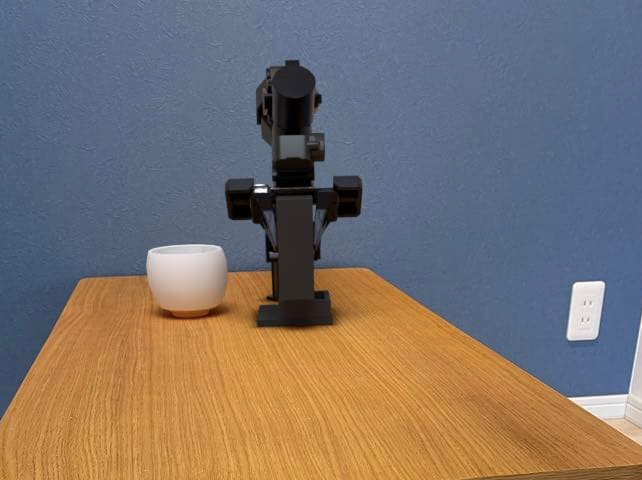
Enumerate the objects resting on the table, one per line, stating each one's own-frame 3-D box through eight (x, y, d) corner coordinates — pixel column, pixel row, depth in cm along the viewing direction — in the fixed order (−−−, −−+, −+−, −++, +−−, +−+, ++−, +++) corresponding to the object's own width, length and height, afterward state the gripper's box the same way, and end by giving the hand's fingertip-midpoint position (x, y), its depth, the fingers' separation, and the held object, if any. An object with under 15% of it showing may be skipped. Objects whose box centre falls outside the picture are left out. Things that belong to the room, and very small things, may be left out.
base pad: (259, 311, 134) (258, 288, 133) (329, 309, 134) (329, 286, 133) (257, 326, 124) (256, 302, 123) (332, 324, 125) (332, 300, 123)
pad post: (280, 293, 122) (276, 195, 116) (313, 292, 122) (311, 195, 116) (279, 300, 118) (275, 199, 112) (314, 299, 118) (312, 198, 112)
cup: (136, 320, 131) (128, 254, 126) (174, 304, 141) (168, 242, 137) (208, 324, 127) (203, 256, 122) (242, 307, 137) (239, 244, 133)
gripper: (220, 112, 113) (220, 211, 108) (361, 108, 113) (367, 207, 108) (228, 172, 123) (228, 264, 119) (357, 169, 123) (362, 261, 119)
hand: (295, 249), depth 116 cm, fingers closed on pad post, 5 cm apart
